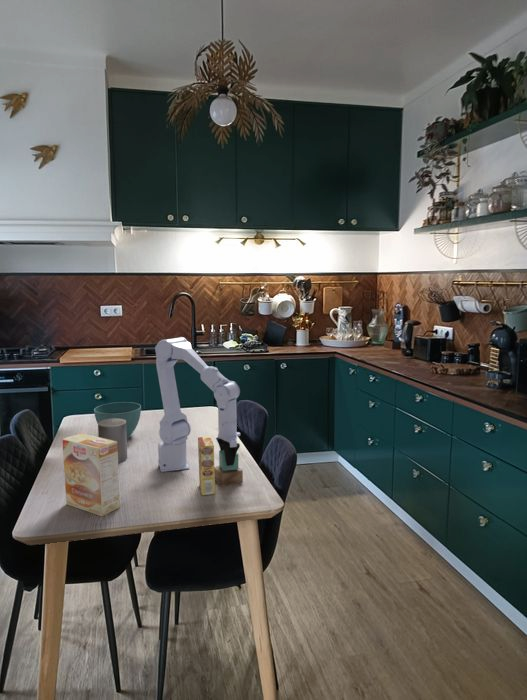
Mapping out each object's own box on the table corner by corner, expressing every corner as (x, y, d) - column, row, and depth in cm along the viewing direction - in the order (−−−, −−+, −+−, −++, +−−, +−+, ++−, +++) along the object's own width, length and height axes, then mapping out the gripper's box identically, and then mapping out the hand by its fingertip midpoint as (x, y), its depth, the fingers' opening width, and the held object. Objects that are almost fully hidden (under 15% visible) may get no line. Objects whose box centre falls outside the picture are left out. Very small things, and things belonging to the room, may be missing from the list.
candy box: (215, 494, 153) (214, 445, 151) (201, 496, 152) (200, 446, 150) (211, 483, 161) (211, 436, 159) (198, 484, 161) (197, 437, 158)
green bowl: (117, 447, 196) (116, 415, 194) (85, 439, 205) (84, 409, 203) (151, 434, 211) (150, 405, 209) (120, 427, 220) (119, 399, 219)
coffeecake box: (65, 504, 147) (61, 438, 144) (85, 495, 153) (82, 432, 150) (101, 517, 139) (97, 447, 136) (121, 507, 145) (118, 440, 142)
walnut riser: (222, 486, 159) (222, 474, 159) (213, 478, 165) (213, 467, 165) (242, 482, 162) (242, 470, 162) (233, 474, 169) (233, 463, 168)
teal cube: (223, 471, 160) (222, 455, 160) (219, 465, 165) (219, 450, 164) (238, 469, 162) (238, 454, 161) (234, 463, 167) (234, 449, 166)
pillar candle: (94, 459, 182) (92, 418, 180) (118, 452, 189) (116, 413, 187) (108, 466, 176) (106, 424, 174) (133, 459, 183) (131, 418, 181)
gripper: (246, 425, 156) (246, 468, 157) (233, 413, 169) (234, 453, 171) (223, 427, 153) (224, 471, 155) (212, 415, 167) (213, 455, 169)
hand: (227, 462), depth 163 cm, fingers closed on teal cube, 5 cm apart
